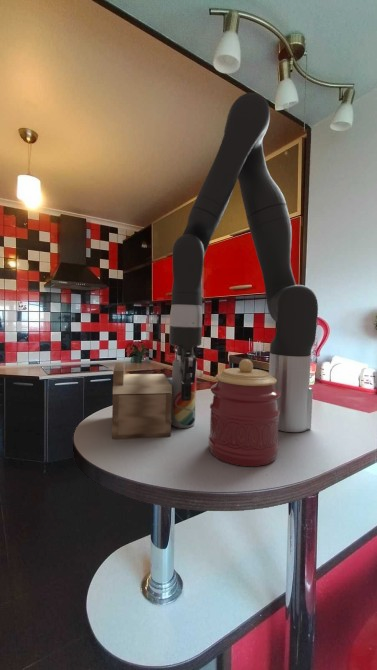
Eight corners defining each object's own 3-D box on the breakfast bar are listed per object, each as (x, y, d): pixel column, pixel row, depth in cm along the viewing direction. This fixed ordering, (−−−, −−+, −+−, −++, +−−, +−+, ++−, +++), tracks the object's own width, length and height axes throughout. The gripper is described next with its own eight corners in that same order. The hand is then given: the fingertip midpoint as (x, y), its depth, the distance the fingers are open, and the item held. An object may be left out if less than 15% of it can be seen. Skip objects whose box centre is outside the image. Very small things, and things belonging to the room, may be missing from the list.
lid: (163, 379, 77) (164, 362, 76) (171, 393, 63) (172, 371, 63) (115, 380, 74) (115, 362, 74) (112, 394, 61) (113, 372, 60)
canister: (283, 472, 50) (288, 366, 49) (204, 463, 52) (208, 361, 51) (273, 441, 63) (277, 356, 62) (211, 435, 65) (214, 353, 64)
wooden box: (162, 415, 77) (163, 380, 77) (170, 436, 63) (171, 394, 63) (114, 416, 75) (115, 381, 74) (111, 439, 61) (112, 395, 61)
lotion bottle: (192, 429, 68) (195, 341, 67) (168, 427, 69) (170, 340, 68) (196, 421, 73) (199, 339, 72) (174, 419, 74) (176, 338, 73)
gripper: (209, 326, 64) (206, 405, 65) (194, 324, 78) (192, 389, 79) (174, 325, 62) (172, 406, 63) (165, 323, 76) (163, 390, 77)
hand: (183, 396), depth 71 cm, fingers closed on lotion bottle, 5 cm apart
